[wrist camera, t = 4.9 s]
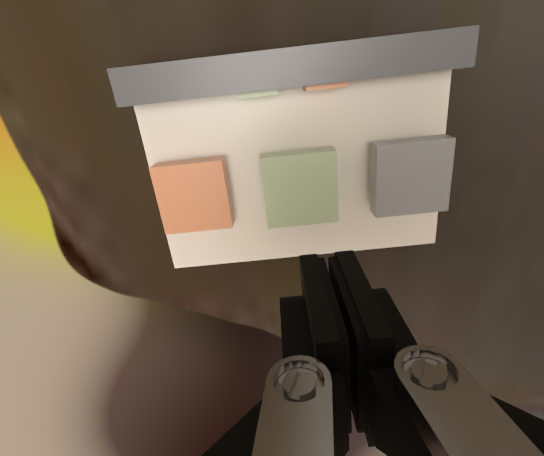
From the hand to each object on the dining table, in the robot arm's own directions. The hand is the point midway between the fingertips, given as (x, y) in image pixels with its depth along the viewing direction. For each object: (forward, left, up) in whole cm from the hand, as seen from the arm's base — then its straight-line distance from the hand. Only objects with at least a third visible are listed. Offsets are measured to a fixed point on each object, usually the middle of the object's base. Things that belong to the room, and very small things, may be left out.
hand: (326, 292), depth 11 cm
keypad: (0, 0, -16) cm, 16 cm away
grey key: (-7, 0, -12) cm, 14 cm away
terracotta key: (+7, 0, -13) cm, 15 cm away
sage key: (0, 0, -12) cm, 12 cm away
